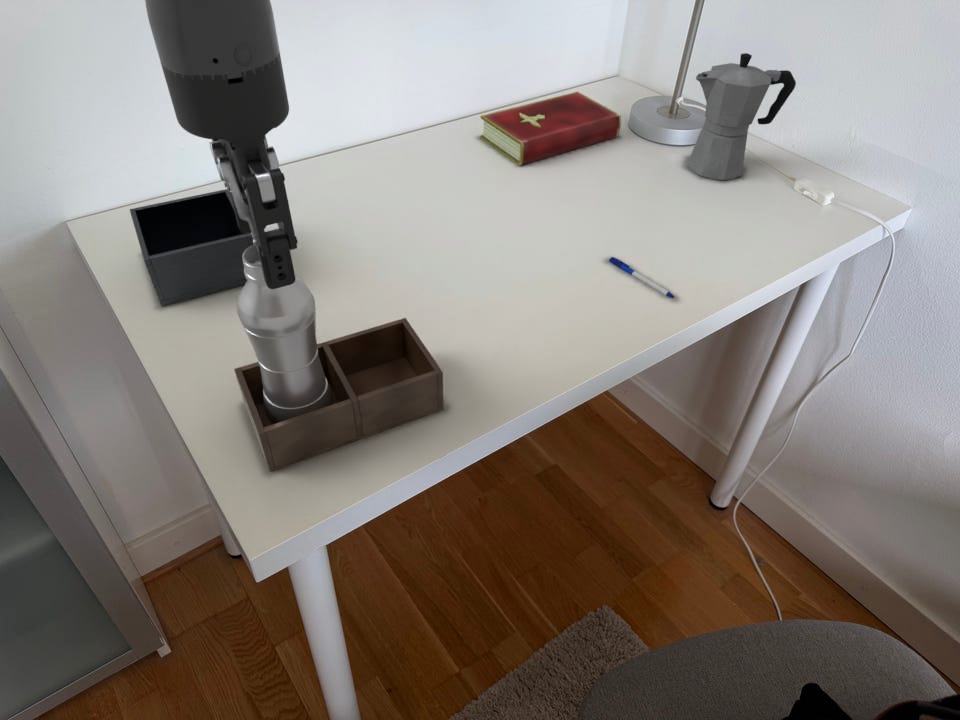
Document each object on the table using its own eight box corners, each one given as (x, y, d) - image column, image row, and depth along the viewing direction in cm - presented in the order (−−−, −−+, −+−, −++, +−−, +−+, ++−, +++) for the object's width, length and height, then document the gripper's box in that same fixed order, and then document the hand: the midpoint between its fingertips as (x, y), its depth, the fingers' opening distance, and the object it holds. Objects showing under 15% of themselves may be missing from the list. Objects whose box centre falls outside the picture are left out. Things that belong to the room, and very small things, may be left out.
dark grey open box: (161, 306, 82) (143, 259, 78) (145, 254, 90) (129, 209, 86) (262, 280, 87) (251, 234, 82) (239, 233, 95) (228, 188, 90)
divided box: (269, 471, 65) (258, 434, 61) (245, 406, 71) (233, 368, 67) (443, 409, 71) (443, 372, 68) (407, 354, 77) (405, 317, 74)
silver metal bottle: (330, 445, 67) (299, 278, 53) (261, 442, 67) (211, 275, 53) (341, 397, 72) (315, 233, 58) (276, 395, 72) (235, 230, 58)
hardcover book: (618, 137, 120) (622, 114, 117) (520, 166, 111) (522, 142, 108) (575, 112, 127) (578, 89, 124) (480, 138, 118) (480, 114, 115)
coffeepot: (682, 181, 109) (711, 65, 96) (667, 154, 115) (693, 42, 103) (777, 181, 109) (818, 66, 97) (757, 154, 116) (793, 43, 104)
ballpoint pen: (606, 263, 92) (607, 256, 91) (611, 260, 92) (612, 254, 92) (670, 300, 86) (672, 293, 86) (675, 297, 87) (676, 290, 86)
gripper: (142, 23, 48) (201, 224, 59) (179, 98, 39) (241, 319, 50) (250, 10, 51) (287, 205, 62) (308, 78, 42) (340, 292, 53)
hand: (266, 256), depth 56 cm, fingers open, 8 cm apart
